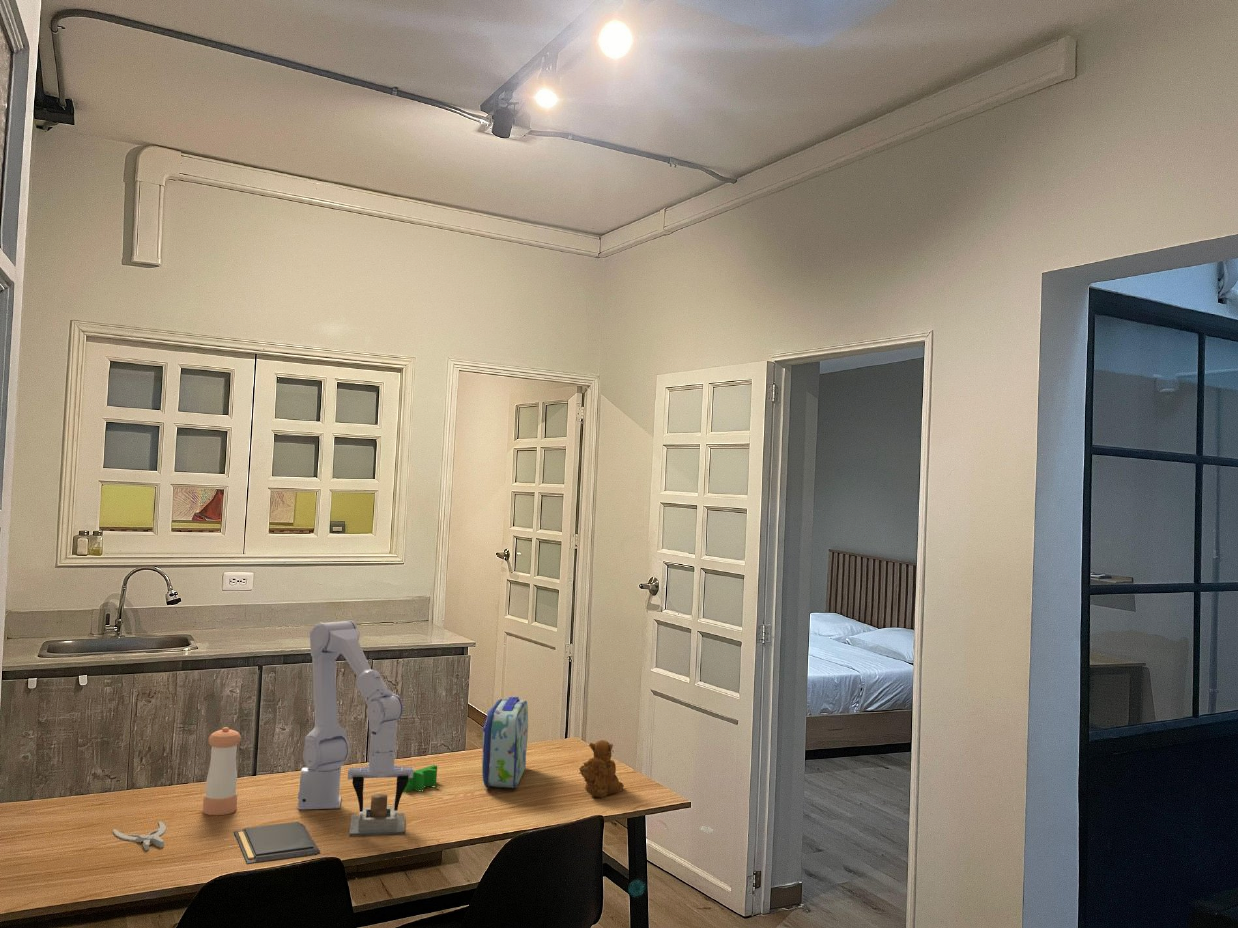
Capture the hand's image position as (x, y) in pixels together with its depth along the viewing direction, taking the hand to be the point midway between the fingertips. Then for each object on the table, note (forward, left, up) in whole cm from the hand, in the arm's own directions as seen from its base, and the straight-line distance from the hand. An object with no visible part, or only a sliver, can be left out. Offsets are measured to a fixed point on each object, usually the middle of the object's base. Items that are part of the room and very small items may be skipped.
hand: (378, 809), depth 206 cm
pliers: (-48, -2, -4) cm, 48 cm away
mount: (0, 0, -4) cm, 4 cm away
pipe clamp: (+11, +27, -4) cm, 29 cm away
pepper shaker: (-36, +14, -4) cm, 39 cm away
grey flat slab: (-21, -8, -4) cm, 23 cm away
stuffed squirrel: (+57, +19, -4) cm, 60 cm away
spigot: (0, 0, -3) cm, 3 cm away
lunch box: (+33, +33, -4) cm, 47 cm away
